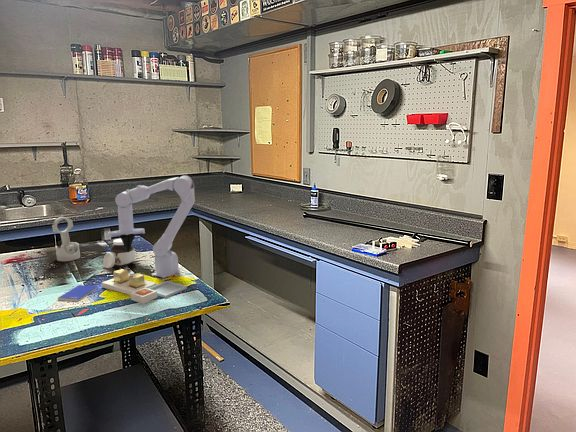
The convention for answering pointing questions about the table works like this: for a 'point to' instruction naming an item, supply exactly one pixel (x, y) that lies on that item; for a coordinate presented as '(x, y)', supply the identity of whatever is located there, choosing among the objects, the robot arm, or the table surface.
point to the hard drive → (77, 293)
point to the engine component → (66, 243)
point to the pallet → (125, 286)
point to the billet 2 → (136, 280)
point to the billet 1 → (121, 276)
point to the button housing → (144, 298)
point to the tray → (168, 289)
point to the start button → (143, 292)
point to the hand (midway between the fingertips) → (127, 251)
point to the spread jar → (119, 255)
